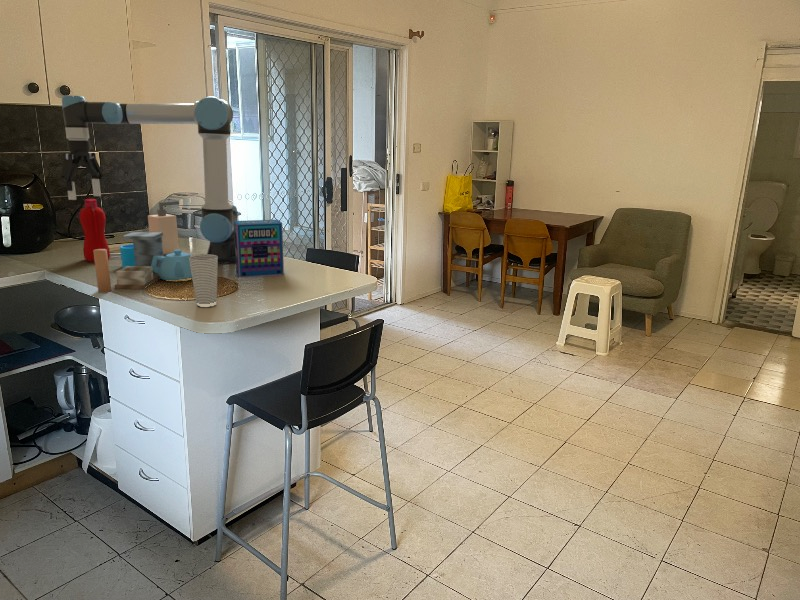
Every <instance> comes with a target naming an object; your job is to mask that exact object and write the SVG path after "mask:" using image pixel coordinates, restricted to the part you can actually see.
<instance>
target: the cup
mask: <svg viewBox="0 0 800 600" xmlns="http://www.w3.org/2000/svg"><path fill="white" fill-rule="evenodd" d="M189 262H190V268H191V274H192V280H191V281H192V285H193V291H194V298H195V304H196V303H199V304H210V303H214V302H216V301H218V264H219V263H218V256H216V255H212V254H207V253H206V254H204V253H202V254H201V253H200V254H194V255H191V256H190V257H189Z"/></svg>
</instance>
